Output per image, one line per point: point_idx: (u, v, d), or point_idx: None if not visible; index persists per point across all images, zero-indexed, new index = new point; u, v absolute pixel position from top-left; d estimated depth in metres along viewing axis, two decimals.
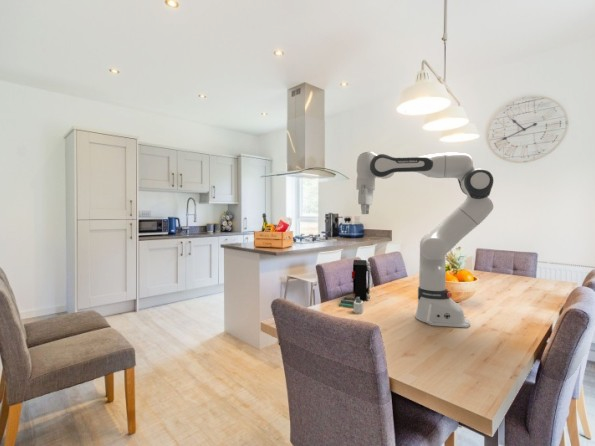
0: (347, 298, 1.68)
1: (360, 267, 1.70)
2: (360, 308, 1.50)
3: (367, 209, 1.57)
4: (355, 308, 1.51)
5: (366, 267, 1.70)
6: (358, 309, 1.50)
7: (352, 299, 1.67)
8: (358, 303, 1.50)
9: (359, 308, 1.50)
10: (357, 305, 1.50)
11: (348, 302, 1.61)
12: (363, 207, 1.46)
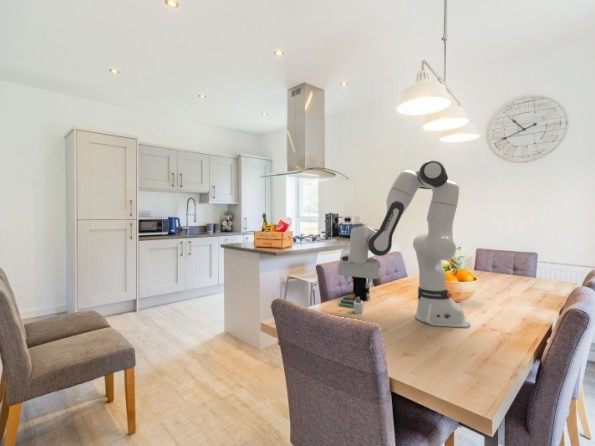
0: (347, 298, 1.68)
1: None
2: (360, 308, 1.50)
3: (347, 280, 1.54)
4: (355, 308, 1.51)
5: None
6: (358, 309, 1.50)
7: (352, 299, 1.67)
8: (358, 303, 1.50)
9: (359, 308, 1.50)
10: (357, 305, 1.50)
11: (348, 302, 1.61)
12: None
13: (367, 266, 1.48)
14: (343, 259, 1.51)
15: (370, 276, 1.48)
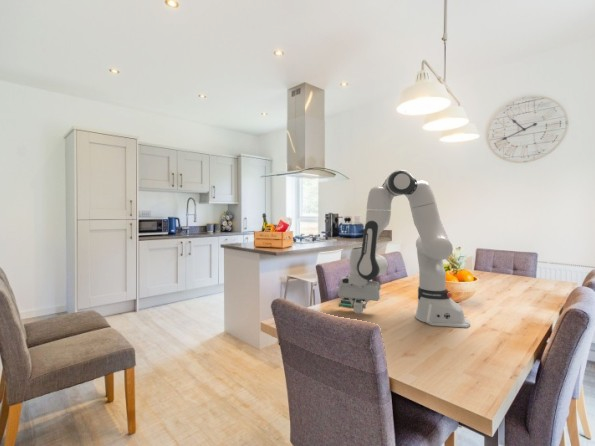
0: (347, 298, 1.68)
1: None
2: (360, 308, 1.50)
3: (352, 302, 1.53)
4: (355, 308, 1.51)
5: None
6: (358, 309, 1.50)
7: (352, 299, 1.67)
8: (358, 303, 1.50)
9: (359, 308, 1.50)
10: (357, 305, 1.50)
11: (348, 302, 1.61)
12: None
13: (368, 288, 1.48)
14: (343, 281, 1.51)
15: (371, 298, 1.48)
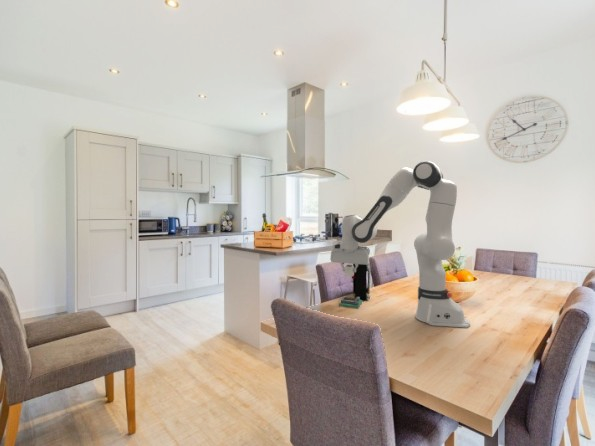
0: (347, 298, 1.68)
1: (360, 267, 1.70)
2: (350, 271, 1.62)
3: (343, 266, 1.66)
4: (346, 271, 1.63)
5: (366, 267, 1.70)
6: (349, 272, 1.62)
7: (352, 299, 1.67)
8: (349, 267, 1.62)
9: (350, 271, 1.62)
10: (348, 268, 1.62)
11: (348, 302, 1.61)
12: (357, 266, 1.63)
13: (358, 253, 1.60)
14: (335, 247, 1.63)
15: (360, 262, 1.60)
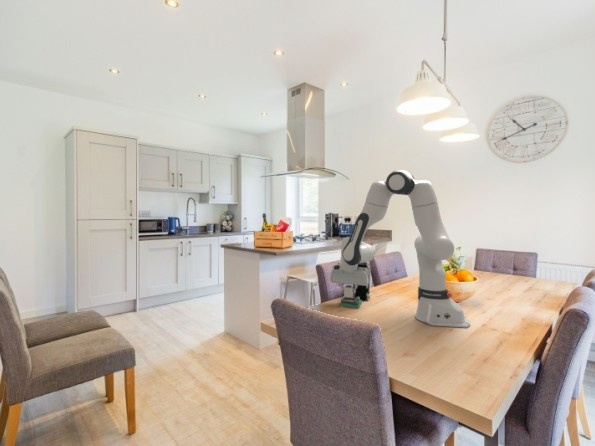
0: (347, 298, 1.68)
1: None
2: (350, 292, 1.62)
3: (343, 287, 1.66)
4: (345, 292, 1.63)
5: (366, 267, 1.70)
6: (348, 293, 1.63)
7: (352, 299, 1.67)
8: (348, 288, 1.62)
9: (349, 292, 1.62)
10: (347, 289, 1.62)
11: (348, 302, 1.61)
12: None
13: (357, 274, 1.61)
14: (335, 268, 1.64)
15: (360, 283, 1.60)
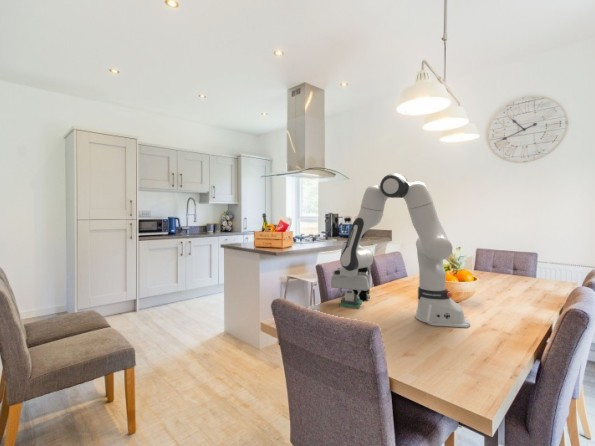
0: None
1: None
2: (351, 298, 1.62)
3: (341, 291, 1.67)
4: (346, 298, 1.63)
5: (366, 267, 1.70)
6: (349, 299, 1.63)
7: None
8: (349, 293, 1.63)
9: (350, 298, 1.63)
10: (348, 295, 1.62)
11: (348, 302, 1.61)
12: None
13: (358, 279, 1.61)
14: (335, 273, 1.64)
15: (360, 288, 1.61)
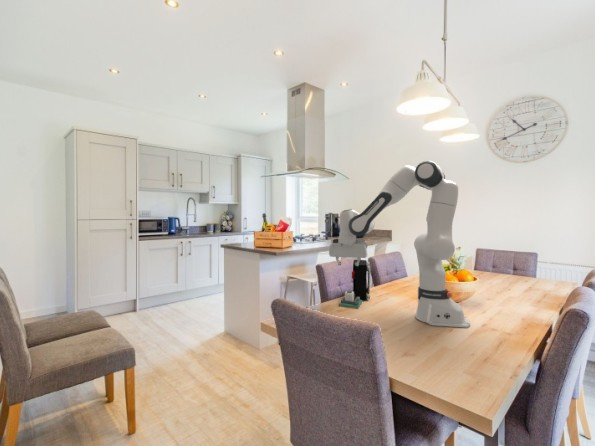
0: None
1: (360, 267, 1.70)
2: (351, 298, 1.62)
3: (338, 260, 1.68)
4: (346, 298, 1.63)
5: (366, 267, 1.70)
6: (349, 299, 1.63)
7: None
8: (349, 293, 1.63)
9: (350, 298, 1.63)
10: (348, 295, 1.62)
11: (348, 302, 1.61)
12: None
13: (356, 247, 1.62)
14: (334, 241, 1.65)
15: (359, 255, 1.62)
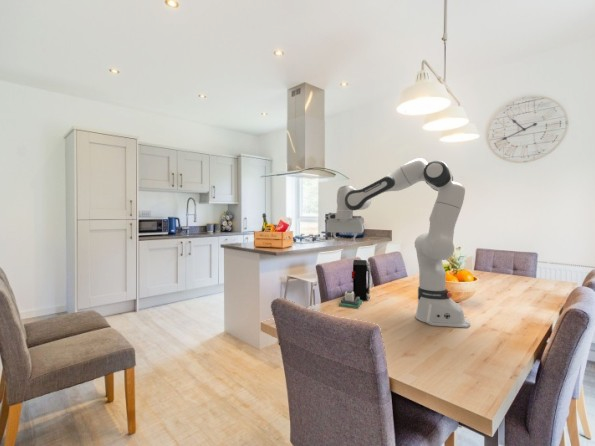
0: None
1: (360, 267, 1.70)
2: (351, 298, 1.62)
3: (335, 236, 1.72)
4: (346, 298, 1.63)
5: (366, 267, 1.70)
6: (349, 299, 1.63)
7: None
8: (349, 293, 1.63)
9: (350, 298, 1.63)
10: (348, 295, 1.62)
11: (348, 302, 1.61)
12: (356, 235, 1.68)
13: (352, 222, 1.66)
14: (331, 217, 1.69)
15: (355, 231, 1.66)
